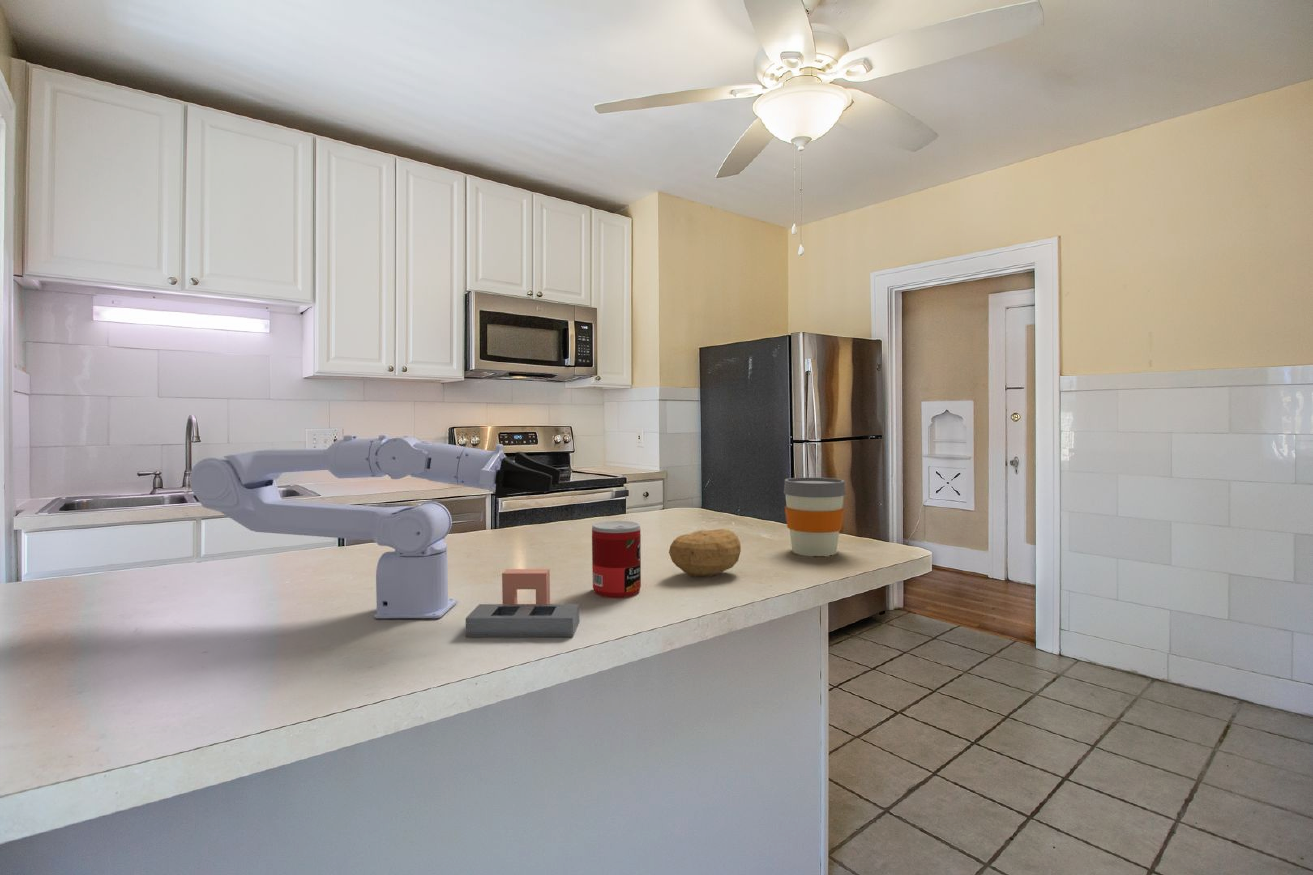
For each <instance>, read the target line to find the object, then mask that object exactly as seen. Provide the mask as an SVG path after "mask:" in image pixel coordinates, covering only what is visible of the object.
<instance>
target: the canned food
mask: <svg viewBox="0 0 1313 875" xmlns="http://www.w3.org/2000/svg"><path fill="white" fill-rule="evenodd" d="M591 527H592V528H591V558H592V559H591V560H592V562H591V563H592V564H591V566H592V568H591V569H592V570H591V571H592V574H591V575H592V589H593V592H594V593H595V595H598V596H599V597H603V598H611V599H612V598H614V599H616V598H617V599H619V598H628V597H633V596H636V595H637V594H638V593H640V591H641V587H642V584H641V582H642V578H641V577H642V573H641V570H642V569H641V567H642V563H641V562H642V561H641V560H642V559H641V558H642V556H641V554H642V553H641V552H642V551H641V549H642V545H641V544H642V543H641V540H642V538H641V537H642V535H641V524H640V523H638V522H634V521H629V520H628V521H626V520H610V521H609V520H607V521H599V522H595V523H593V524H592V526H591Z"/></svg>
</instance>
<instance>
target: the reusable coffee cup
mask: <svg viewBox="0 0 1313 875" xmlns="http://www.w3.org/2000/svg"><path fill="white" fill-rule="evenodd" d="M783 487H784V488H783V494H784V495H785V504H786V505H784V510H785V511H784V513H785V519H786V525H787V526H786V527H787V528H788V529H789V536H790V541H791V542H790V543H791V549H792V553H794V554H796V555H799V556H804V557H813V556H825V557H831V556H830V555H832V556H835V555H836V554H837V552H838V551H837V549H838V542H839V537H840V536H839V535H840V532H841V531H842V530H843V529H842V527H843V522H844V521H843V520H844V514H845V507H843V506H844V498H845V497H844V496H846V484H845V480H843V479H838V478H831V477H809V476H807V477H791V478H790V477H789V478H785V479H784V486H783ZM835 553H836V554H835ZM834 554H835V555H834Z"/></svg>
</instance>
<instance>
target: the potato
mask: <svg viewBox="0 0 1313 875" xmlns="http://www.w3.org/2000/svg"><path fill="white" fill-rule="evenodd" d="M741 548H742V546H741V541H740V539H739V537H738V535H736V534H735V533H734V531H732V530H730V529H726V528H720V529H718V528H717V529H709V530H708V529H705V530H704V529H701V530H697V531H692V532H690V533H686V534H681V535H679V536H677V537H676V538H674V539H673V541H672V542H671V544H670V546H669V550H668V551H669V552H668V554H669V556H670V559H671V563H673V564H674V565H675V567H677V568H679V569H680V570H682V572H683V573H685V574H687V575H688V576H691V577H694V578H695V577H696V578H708V577H713V576H717V574H720V573H723V572H725V571H727V570H730V569H732V568H734V566H735V565H736V564H737V563H738V561H739V558H740V555H741V552H742V551H741V550H742V549H741Z"/></svg>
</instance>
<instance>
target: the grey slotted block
mask: <svg viewBox="0 0 1313 875" xmlns="http://www.w3.org/2000/svg"><path fill="white" fill-rule="evenodd" d="M580 615H581V614H580V603H553V604H552V603H550V604H536V603H517V604H503V603H488V604H487V603H483V604H482V603H479V604H478V605H477V606H476V607H475V608H474V609H473V610H472V611H471V612H470V613H469V614H468V615H467V616H466V617H465V638H573V637H574V636H575V633H576V631H577V629H578V627H579V624H580Z"/></svg>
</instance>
